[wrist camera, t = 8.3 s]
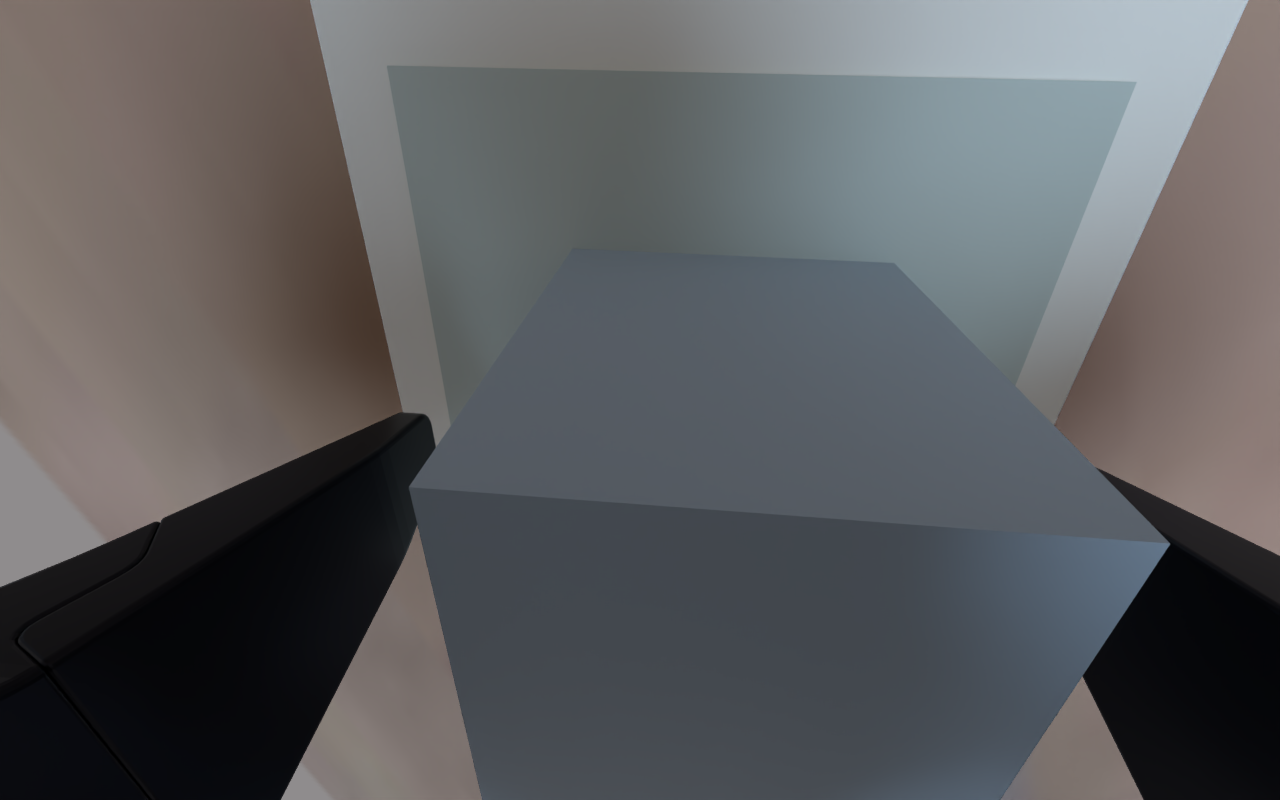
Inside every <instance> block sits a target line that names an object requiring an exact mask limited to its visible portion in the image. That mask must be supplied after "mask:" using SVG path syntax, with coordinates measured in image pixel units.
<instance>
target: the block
mask: <svg viewBox="0 0 1280 800" xmlns="http://www.w3.org/2000/svg"><path fill="white" fill-rule="evenodd" d="M409 491H410V495H411V499H412V503H413V508H414V512H415V516H416V520H417V525H418V529H419V533H420V537H421V541H422V546H423V550H424V554H425V558H426V563H427V567H428V571H429V575H430V580H431V584H432V588H433V592H434V597H435V601H436V605H437V609H438V614H439V618H440V622H441V626H442V631H443V635H444V639H445V643H446V648H447V652H448V656H449V660H450V665H451V669H452V673H453V677H454V682H455V686H456V690H457V694H458V699H459V703H460V707H461V711H462V716H463V720H464V724H465V728H466V733H467V737H468V741H469V745H470V750H471V754H472V758H473V762H474V767H475V771H476V775H477V779H478V784H479V788H480V792H481V796H482V800H1000V799H1001V798H1002V796H1003V795H1004V793H1005V792H1006V790H1007V789H1008V787H1009V786H1010V784H1011V783H1012V781H1013V780H1014V778H1015V777H1016V775H1017V774H1018V772H1019V771H1020V769H1021V768H1022V766H1023V765H1024V763H1025V762H1026V760H1027V759H1028V757H1029V756H1030V754H1031V753H1032V751H1033V749H1034V748H1035V746H1036V745H1037V743H1038V742H1039V740H1040V739H1041V737H1042V736H1043V734H1044V733H1045V731H1046V730H1047V728H1048V727H1049V725H1050V724H1051V722H1052V721H1053V719H1054V718H1055V716H1056V715H1057V713H1058V712H1059V710H1060V709H1061V707H1062V706H1063V704H1064V703H1065V701H1066V700H1067V698H1068V697H1069V695H1070V694H1071V692H1072V691H1073V689H1074V688H1075V686H1076V685H1077V683H1078V682H1079V680H1080V679H1081V677H1082V676H1083V674H1084V673H1085V671H1086V670H1087V668H1088V667H1089V665H1090V664H1091V662H1092V661H1093V659H1094V658H1095V656H1096V655H1097V653H1098V652H1099V650H1100V649H1101V647H1102V646H1103V644H1104V643H1105V641H1106V640H1107V638H1108V637H1109V635H1110V634H1111V632H1112V631H1113V629H1114V628H1115V626H1116V625H1117V623H1118V622H1119V620H1120V619H1121V617H1122V616H1123V614H1124V613H1125V611H1126V610H1127V608H1128V607H1129V605H1130V604H1131V602H1132V601H1133V599H1134V598H1135V596H1136V595H1137V593H1138V592H1139V590H1140V589H1141V587H1142V586H1143V584H1144V583H1145V581H1146V580H1147V578H1148V577H1149V575H1150V574H1151V572H1152V571H1153V569H1154V568H1155V566H1156V565H1157V563H1158V562H1159V560H1160V559H1161V557H1162V556H1163V554H1164V553H1165V551H1166V550H1167V548H1168V547H1169V545H1170V543H1169V542H1168V541H1167V540H1166V539H1165V538H1164V537H1163V536H1162V535H1161V534H1160V533H1159V532H1158V531H1157V530H1156V529H1155V528H1154V527H1153V526H1152V525H1151V524H1150V523H1149V521H1148V520H1147V519H1146V518H1145V517H1144V516H1143V515H1142V514H1141V513H1140V512H1139V511H1138V510H1137V509H1136V508H1135V507H1134V506H1133V505H1132V504H1131V503H1130V502H1129V501H1128V500H1127V499H1126V498H1125V497H1124V496H1123V495H1122V494H1121V493H1120V492H1119V491H1118V490H1117V489H1116V488H1115V487H1114V486H1113V485H1112V484H1111V483H1110V482H1109V481H1108V480H1107V479H1106V478H1105V477H1104V476H1103V475H1102V474H1101V473H1100V472H1099V471H1098V470H1097V469H1096V468H1095V467H1094V466H1093V465H1092V464H1091V463H1090V462H1089V461H1088V459H1087V458H1086V457H1085V456H1084V455H1083V454H1082V453H1081V452H1080V451H1079V450H1078V449H1077V448H1076V447H1075V446H1074V445H1073V444H1072V443H1071V442H1070V441H1069V440H1068V439H1067V438H1066V437H1065V436H1064V435H1063V434H1062V433H1061V432H1060V431H1059V430H1058V429H1057V428H1056V427H1055V426H1054V425H1053V424H1052V423H1051V422H1050V421H1049V420H1048V419H1047V418H1046V417H1045V416H1044V415H1043V414H1042V413H1041V412H1040V411H1039V410H1038V409H1037V408H1036V407H1035V406H1034V405H1033V404H1032V403H1031V402H1030V401H1029V400H1028V399H1027V398H1026V396H1025V395H1024V394H1023V393H1022V392H1021V391H1020V390H1019V389H1018V388H1017V387H1016V386H1015V385H1014V384H1013V383H1012V382H1011V381H1010V380H1009V379H1008V378H1007V377H1006V376H1005V375H1004V374H1003V373H1002V372H1001V371H1000V370H999V369H998V368H997V367H996V366H995V365H994V364H993V363H992V362H991V361H990V360H989V359H988V358H987V357H986V356H985V355H984V354H983V353H982V352H981V351H980V350H979V349H978V348H977V347H976V346H975V345H974V344H973V343H972V342H971V341H970V340H969V339H968V338H967V337H966V336H965V335H964V333H963V332H962V331H961V330H960V329H959V328H958V327H957V326H956V325H955V324H954V323H953V322H952V321H951V320H950V319H949V318H948V317H947V316H946V315H945V314H944V313H943V312H942V311H941V310H940V309H939V308H938V307H937V306H936V305H935V304H934V303H933V302H932V301H931V300H930V299H929V298H928V297H927V296H926V295H925V294H924V293H923V292H922V291H921V290H920V289H919V288H918V287H917V286H916V285H915V284H914V283H913V282H912V281H911V280H910V279H909V278H908V277H907V276H906V275H905V274H904V273H903V271H902V270H901V269H900V268H899V267H898V266H897V265H896V264H895V263H883V262H860V261H838V260H816V259H793V258H771V257H749V256H726V255H704V254H682V253H659V252H637V251H615V250H592V249H572V250H571V252H570V253H569V255H568V256H567V258H566V259H565V260H564V262H563V263H562V265H561V266H560V268H559V269H558V271H557V272H556V274H555V275H554V276H553V278H552V279H551V281H550V282H549V284H548V285H547V287H546V288H545V290H544V291H543V292H542V294H541V295H540V297H539V298H538V300H537V301H536V303H535V304H534V306H533V307H532V308H531V310H530V311H529V313H528V314H527V316H526V317H525V319H524V320H523V322H522V323H521V324H520V326H519V327H518V329H517V330H516V332H515V333H514V335H513V336H512V338H511V339H510V340H509V342H508V343H507V345H506V346H505V348H504V349H503V351H502V352H501V354H500V355H499V357H498V358H497V359H496V361H495V362H494V364H493V365H492V367H491V368H490V370H489V371H488V373H487V374H486V375H485V377H484V378H483V380H482V381H481V383H480V384H479V386H478V387H477V389H476V390H475V391H474V393H473V394H472V396H471V397H470V399H469V400H468V402H467V403H466V405H465V406H464V407H463V409H462V410H461V412H460V413H459V415H458V416H457V418H456V419H455V421H454V422H453V423H452V425H451V426H450V428H449V429H448V431H447V432H446V434H445V435H444V437H443V438H442V439H441V441H440V442H439V444H438V445H437V447H436V448H435V450H434V451H433V453H432V454H431V455H430V457H429V458H428V460H427V461H426V463H425V464H424V466H423V467H422V469H421V470H420V471H419V473H418V474H417V476H416V477H415V479H414V480H413V482H412V483H411V485H410V486H409Z"/></svg>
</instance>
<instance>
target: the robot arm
mask: <svg viewBox="0 0 1280 800" xmlns="http://www.w3.org/2000/svg"><path fill="white" fill-rule="evenodd" d="M435 448H436V444H435V439H434V434H433V429H432V424H431V421H430V419H429V417H428V416H427V415H425V414H421V413H406V412H402V413H398V414H395V415H393V416H391V417H389V418H386V419H384V420H382V421H380V422H378V423H375V424H373V425H371V426H369V427H366V428H364V429H362V430H360V431H357V432H355V433H353V434H351V435H348V436H346V437H344V438H342V439H339V440H337V441H335V442H333V443H330V444H328V445H326V446H324V447H322V448H319V449H317V450H315V451H313V452H310V453H308V454H306V455H304V456H301V457H299V458H297V459H295V460H292V461H290V462H288V463H286V464H283V465H281V466H279V467H277V468H274V469H272V470H270V471H268V472H265V473H263V474H261V475H259V476H257V477H254V478H252V479H250V480H248V481H245V482H243V483H241V484H239V485H236V486H234V487H232V488H230V489H227V490H225V491H223V492H221V493H218V494H216V495H214V496H212V497H209V498H207V499H205V500H203V501H201V502H198V503H196V504H194V505H192V506H189V507H187V508H185V509H183V510H180V511H178V512H176V513H174V514H171V515H169V516H167V517H165V518H163V519H162V520H161V523H160V522H153V523H151V524H149V525H146V526H144V527H142V528H140V529H137V530H135V531H133V532H131V533H129V534H126V535H124V536H122V537H119V538H117V539H115V540H112V541H110V542H108V543H106V544H103V545H101V546H99V547H97V548H94V549H92V550H90V551H87V552H85V553H82V554H80V555H78V556H76V557H73V558H71V559H68V560H66V561H63V562H61V563H59V564H56V565H54V566H51V567H49V568H46V569H44V570H41V571H39V572H36V573H34V574H32V575H29V576H26V577H24V578H22V579H19V580H17V581H14V582H12V583H9V584H7V585H4V586H2V587H0V800H281V798H282V796H283V794H284V792H285V790H286V789H287V787H288V785H289V782H290V781H291V779H292V777H293V775H294V773H295V771H296V769H297V767H298V765H299V763H300V761H301V759H302V757H303V755H304V753H305V751H306V749H307V747H308V745H309V744H310V742H311V740H312V738H313V736H314V734H315V732H316V730H317V728H318V726H319V724H320V722H321V720H322V718H323V716H324V714H325V712H326V710H327V708H328V706H329V704H330V702H331V700H332V699H333V697H334V695H335V693H336V691H337V689H338V687H339V685H340V683H341V681H342V679H343V677H344V675H345V673H346V671H347V669H348V667H349V665H350V663H351V661H352V659H353V657H354V655H355V654H356V652H357V650H358V648H359V646H360V644H361V642H362V640H363V638H364V636H365V634H366V632H367V630H368V628H369V626H370V624H371V622H372V620H373V618H374V616H375V614H376V612H377V610H378V608H379V607H380V605H381V603H382V601H383V599H384V597H385V595H386V593H387V591H388V589H389V587H390V585H391V583H392V581H393V579H394V577H395V575H396V573H397V571H398V569H399V567H400V565H401V563H402V561H403V559H404V557H405V555H406V552H407V550H408V548H409V545H410V543H411V540H412V537H413V535H414V532H415V529H416V527H417V520H416V516H415V512H414V508H413V503H412V499H411V495H410V491H409V486H410V485H411V483H412V482H413V480H414V479H415V477H416V476H417V474H418V473H419V471H420V470H421V469H422V467H423V466H424V464H425V463H426V461H427V460H428V458H429V457H430V455H431V454H432V453H433V451H434V450H435ZM1095 468H1096V467H1095ZM1096 469H1097V470H1098V471H1099V472H1100V473H1101V474H1102V475H1103V476H1104V477H1105V478H1106V479H1107V480H1108V481H1109V482H1110V483H1111V484H1112V485H1113V486H1114V487H1115V488H1116V489H1117V490H1118V491H1119V492H1120V493H1121V494H1122V495H1123V496H1124V497H1125V498H1126V499H1127V500H1128V501H1129V502H1130V503H1131V504H1132V505H1133V506H1134V507H1135V508H1136V509H1137V510H1138V511H1139V512H1140V513H1141V514H1142V515H1143V516H1144V517H1145V518H1146V519H1147V520H1148V521H1149V523H1150V524H1151V525H1152V526H1153V527H1154V528H1155V529H1156V530H1157V531H1158V532H1159V533H1160V534H1161V535H1162V536H1163V537H1164V538H1165V539H1166V540H1167V541H1168V542H1169V543H1170V545H1169V547H1168V548H1167V550H1166V551H1165V553H1164V554H1163V556H1162V557H1161V559H1160V560H1159V562H1158V563H1157V565H1156V566H1155V568H1154V569H1153V571H1152V572H1151V574H1150V575H1149V577H1148V578H1147V580H1146V581H1145V583H1144V584H1143V586H1142V587H1141V589H1140V590H1139V592H1138V593H1137V595H1136V596H1135V598H1134V599H1133V601H1132V602H1131V604H1130V605H1129V607H1128V608H1127V610H1126V611H1125V613H1124V614H1123V616H1122V617H1121V619H1120V620H1119V622H1118V623H1117V625H1116V626H1115V628H1114V629H1113V631H1112V632H1111V634H1110V635H1109V637H1108V638H1107V640H1106V641H1105V643H1104V644H1103V646H1102V647H1101V649H1100V650H1099V652H1098V653H1097V655H1096V656H1095V658H1094V659H1093V661H1092V662H1091V664H1090V665H1089V667H1088V668H1087V670H1086V671H1085V673H1084V674H1083V678H1084V680H1085V682H1086V684H1087V686H1088V688H1089V690H1090V692H1091V694H1092V696H1093V698H1094V700H1095V702H1096V704H1097V706H1098V708H1099V711H1100V713H1101V715H1102V717H1103V719H1104V721H1105V723H1106V725H1107V727H1108V729H1109V731H1110V733H1111V735H1112V737H1113V739H1114V741H1115V743H1116V745H1117V747H1118V749H1119V751H1120V753H1121V755H1122V757H1123V759H1124V761H1125V763H1126V765H1127V767H1128V769H1129V771H1130V773H1131V775H1132V777H1133V779H1134V781H1135V783H1136V785H1137V787H1138V789H1139V791H1140V793H1141V795H1142V797H1143V799H1144V800H1280V556H1279V555H1277V554H1275V553H1273V552H1271V551H1269V550H1266V549H1264V548H1262V547H1260V546H1258V545H1256V544H1254V543H1252V542H1250V541H1248V540H1246V539H1244V538H1242V537H1240V536H1237V535H1235V534H1233V533H1231V532H1229V531H1227V530H1225V529H1223V528H1221V527H1219V526H1217V525H1215V524H1213V523H1210V522H1208V521H1206V520H1204V519H1202V518H1200V517H1198V516H1196V515H1194V514H1192V513H1190V512H1188V511H1186V510H1183V509H1181V508H1179V507H1177V506H1175V505H1173V504H1171V503H1169V502H1167V501H1165V500H1163V499H1161V498H1159V497H1156V496H1154V495H1152V494H1150V493H1148V492H1146V491H1144V490H1142V489H1140V488H1138V487H1136V486H1134V485H1132V484H1130V483H1127V482H1125V481H1123V480H1121V479H1119V478H1117V477H1115V476H1113V475H1111V474H1109V473H1107V472H1105V471H1103V470H1100V469H1098V468H1096Z"/></svg>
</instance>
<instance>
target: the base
mask: <svg viewBox="0 0 1280 800" xmlns="http://www.w3.org/2000/svg"><path fill="white" fill-rule="evenodd" d="M310 2H311V6H312V11H313V15H314V20H315V24H316V29H317V33H318V38H319V42H320V46H321V51H322V55H323V60H324V64H325V69H326V73H327V77H328V82H329V86H330V91H331V95H332V100H333V104H334V109H335V113H336V117H337V122H338V126H339V131H340V135H341V140H342V144H343V149H344V153H345V157H346V162H347V166H348V171H349V175H350V180H351V184H352V189H353V193H354V197H355V202H356V206H357V211H358V215H359V220H360V224H361V228H362V233H363V237H364V242H365V246H366V251H367V255H368V260H369V264H370V268H371V273H372V277H373V282H374V286H375V291H376V295H377V300H378V304H379V308H380V313H381V317H382V322H383V326H384V331H385V335H386V340H387V344H388V348H389V353H390V357H391V362H392V366H393V371H394V375H395V380H396V384H397V388H398V393H399V397H400V402H401V406H402V411H403V412H406V413H421V414H425V415H427V416H428V417H429V419H430V421H431V424H432V429H433V434H434V439H435V444H436V447H437V445H438V444H439V442H440V441H441V439H442V438H443V437H444V435H445V434H446V432H447V431H448V429H449V428H450V426H451V425H452V423H453V422H454V421H455V419H456V418H457V416H458V415H459V413H460V412H461V410H462V409H463V407H464V406H465V405H466V403H467V402H468V400H469V399H470V397H471V396H472V394H473V393H474V391H475V390H476V389H477V387H478V386H479V384H480V383H481V381H482V380H483V378H484V377H485V375H486V374H487V373H488V371H489V370H490V368H491V367H492V365H493V364H494V362H495V361H496V359H497V358H498V357H499V355H500V354H501V352H502V351H503V349H504V348H505V346H506V345H507V343H508V342H509V340H510V339H511V338H512V336H513V335H514V333H515V332H516V330H517V329H518V327H519V326H520V324H521V323H522V322H523V320H524V319H525V317H526V316H527V314H528V313H529V311H530V310H531V308H532V307H533V306H534V304H535V303H536V301H537V300H538V298H539V297H540V295H541V294H542V292H543V291H544V290H545V288H546V287H547V285H548V284H549V282H550V281H551V279H552V278H553V276H554V275H555V274H556V272H557V271H558V269H559V268H560V266H561V265H562V263H563V262H564V260H565V259H566V258H567V256H568V255H569V253H570V252H571V250H572V249H592V250H615V251H637V252H659V253H682V254H704V255H726V256H749V257H771V258H793V259H816V260H838V261H860V262H883V263H895V264H896V265H897V266H898V267H899V268H900V269H901V270H902V271H903V273H904V274H905V275H906V276H907V277H908V278H909V279H910V280H911V281H912V282H913V283H914V284H915V285H916V286H917V287H918V288H919V289H920V290H921V291H922V292H923V293H924V294H925V295H926V296H927V297H928V298H929V299H930V300H931V301H932V302H933V303H934V304H935V305H936V306H937V307H938V308H939V309H940V310H941V311H942V312H943V313H944V314H945V315H946V316H947V317H948V318H949V319H950V320H951V321H952V322H953V323H954V324H955V325H956V326H957V327H958V328H959V329H960V330H961V331H962V332H963V333H964V335H965V336H966V337H967V338H968V339H969V340H970V341H971V342H972V343H973V344H974V345H975V346H976V347H977V348H978V349H979V350H980V351H981V352H982V353H983V354H984V355H985V356H986V357H987V358H988V359H989V360H990V361H991V362H992V363H993V364H994V365H995V366H996V367H997V368H998V369H999V370H1000V371H1001V372H1002V373H1003V374H1004V375H1005V376H1006V377H1007V378H1008V379H1009V380H1010V381H1011V382H1012V383H1013V384H1014V385H1015V386H1016V387H1017V388H1018V389H1019V390H1020V391H1021V392H1022V393H1023V394H1024V395H1025V396H1026V398H1027V399H1028V400H1029V401H1030V402H1031V403H1032V404H1033V405H1034V406H1035V407H1036V408H1037V409H1038V410H1039V411H1040V412H1041V413H1042V414H1043V415H1044V416H1045V417H1046V418H1047V419H1048V420H1049V421H1050V422H1051V423H1052V424H1053V425H1054V424H1055V422H1056V420H1057V418H1058V415H1059V413H1060V411H1061V409H1062V407H1063V405H1064V402H1065V400H1066V398H1067V396H1068V394H1069V391H1070V389H1071V387H1072V385H1073V383H1074V380H1075V378H1076V376H1077V374H1078V372H1079V370H1080V367H1081V365H1082V363H1083V361H1084V359H1085V356H1086V354H1087V352H1088V350H1089V348H1090V345H1091V343H1092V341H1093V339H1094V337H1095V335H1096V332H1097V330H1098V328H1099V326H1100V324H1101V321H1102V319H1103V317H1104V315H1105V313H1106V310H1107V308H1108V306H1109V304H1110V302H1111V300H1112V297H1113V295H1114V293H1115V291H1116V289H1117V286H1118V284H1119V282H1120V280H1121V278H1122V276H1123V273H1124V271H1125V269H1126V267H1127V265H1128V262H1129V260H1130V258H1131V256H1132V254H1133V251H1134V249H1135V247H1136V245H1137V243H1138V241H1139V238H1140V236H1141V234H1142V232H1143V230H1144V227H1145V225H1146V223H1147V221H1148V219H1149V216H1150V214H1151V212H1152V210H1153V208H1154V206H1155V203H1156V201H1157V199H1158V197H1159V195H1160V192H1161V190H1162V188H1163V186H1164V184H1165V181H1166V179H1167V177H1168V175H1169V173H1170V171H1171V168H1172V166H1173V164H1174V162H1175V160H1176V157H1177V155H1178V153H1179V151H1180V149H1181V147H1182V144H1183V142H1184V140H1185V138H1186V136H1187V133H1188V131H1189V129H1190V127H1191V125H1192V122H1193V120H1194V118H1195V116H1196V114H1197V112H1198V109H1199V107H1200V105H1201V103H1202V101H1203V98H1204V96H1205V94H1206V92H1207V90H1208V87H1209V85H1210V83H1211V81H1212V79H1213V77H1214V74H1215V72H1216V70H1217V68H1218V66H1219V63H1220V61H1221V59H1222V57H1223V55H1224V52H1225V50H1226V48H1227V46H1228V44H1229V42H1230V39H1231V37H1232V35H1233V33H1234V31H1235V28H1236V26H1237V24H1238V22H1239V20H1240V18H1241V15H1242V13H1243V11H1244V9H1245V7H1246V4H1247V2H1248V0H310Z"/></svg>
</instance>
